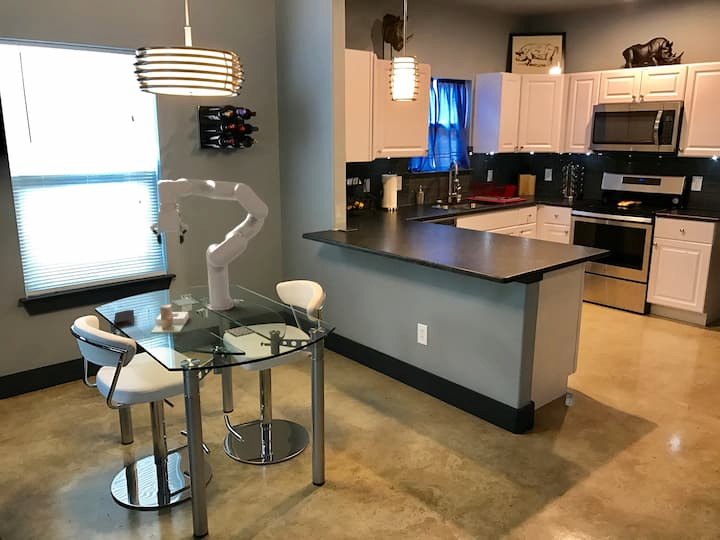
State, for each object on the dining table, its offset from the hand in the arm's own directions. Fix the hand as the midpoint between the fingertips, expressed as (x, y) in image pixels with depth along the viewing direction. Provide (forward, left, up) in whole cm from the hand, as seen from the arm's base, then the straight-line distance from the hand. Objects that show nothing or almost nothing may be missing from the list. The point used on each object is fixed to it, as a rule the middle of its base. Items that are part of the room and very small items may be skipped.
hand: (171, 243), depth 269 cm
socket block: (-2, +17, -33) cm, 37 cm away
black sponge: (+20, +13, -34) cm, 42 cm away
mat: (-2, +28, -33) cm, 43 cm away
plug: (-2, +27, -32) cm, 42 cm away
